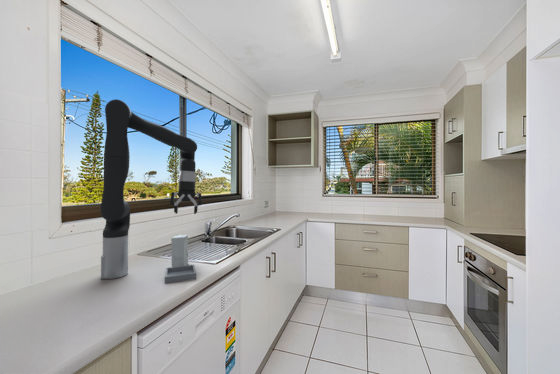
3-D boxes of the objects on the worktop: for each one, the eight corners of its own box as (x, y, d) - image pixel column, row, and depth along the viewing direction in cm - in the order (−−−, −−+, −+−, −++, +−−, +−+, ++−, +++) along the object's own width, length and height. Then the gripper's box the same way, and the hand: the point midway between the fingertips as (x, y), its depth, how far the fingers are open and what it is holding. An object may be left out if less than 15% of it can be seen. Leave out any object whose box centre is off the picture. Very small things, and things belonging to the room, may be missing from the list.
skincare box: (184, 269, 115) (184, 237, 115) (170, 269, 114) (170, 237, 114) (188, 263, 123) (188, 234, 123) (175, 263, 122) (176, 234, 122)
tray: (164, 283, 98) (164, 277, 98) (165, 273, 109) (165, 267, 109) (196, 279, 103) (196, 273, 103) (194, 269, 114) (194, 264, 114)
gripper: (170, 179, 114) (168, 214, 114) (202, 181, 118) (200, 214, 117) (173, 180, 121) (171, 212, 121) (202, 181, 125) (201, 213, 125)
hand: (185, 213), depth 119 cm, fingers open, 8 cm apart
